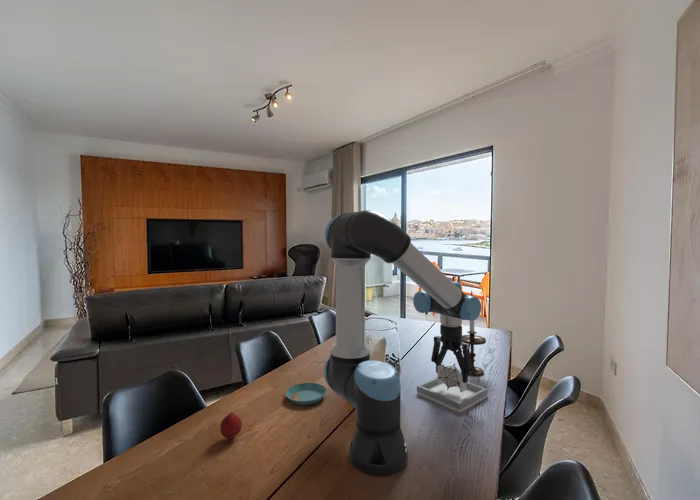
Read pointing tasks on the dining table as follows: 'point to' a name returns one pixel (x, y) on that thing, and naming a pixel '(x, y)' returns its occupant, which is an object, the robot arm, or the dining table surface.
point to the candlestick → (473, 340)
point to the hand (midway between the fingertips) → (451, 386)
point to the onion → (230, 425)
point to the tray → (452, 394)
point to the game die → (450, 376)
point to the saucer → (306, 393)
